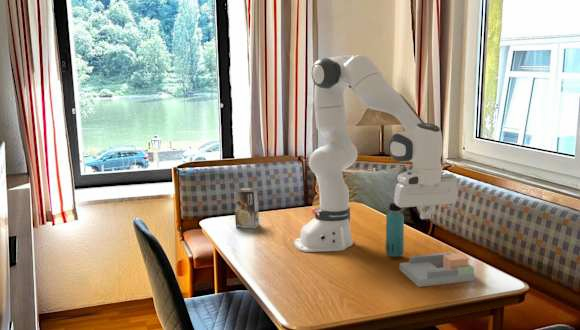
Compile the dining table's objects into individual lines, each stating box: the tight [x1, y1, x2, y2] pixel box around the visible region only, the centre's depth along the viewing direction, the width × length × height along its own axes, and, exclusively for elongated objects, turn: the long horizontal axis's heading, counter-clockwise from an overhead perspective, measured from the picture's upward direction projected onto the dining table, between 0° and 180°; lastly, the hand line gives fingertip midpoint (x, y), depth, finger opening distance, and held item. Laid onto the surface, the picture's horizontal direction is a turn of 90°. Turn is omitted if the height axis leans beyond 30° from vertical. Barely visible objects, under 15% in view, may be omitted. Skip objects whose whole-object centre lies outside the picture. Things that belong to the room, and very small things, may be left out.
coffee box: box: [233, 187, 260, 229], centre depth 251 cm, size 9×6×16 cm
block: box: [443, 252, 469, 269], centre depth 192 cm, size 6×5×4 cm
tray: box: [399, 252, 475, 288], centre depth 194 cm, size 19×15×4 cm
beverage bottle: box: [385, 202, 405, 257], centre depth 210 cm, size 6×7×20 cm
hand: (425, 218), depth 187 cm, fingers closed
